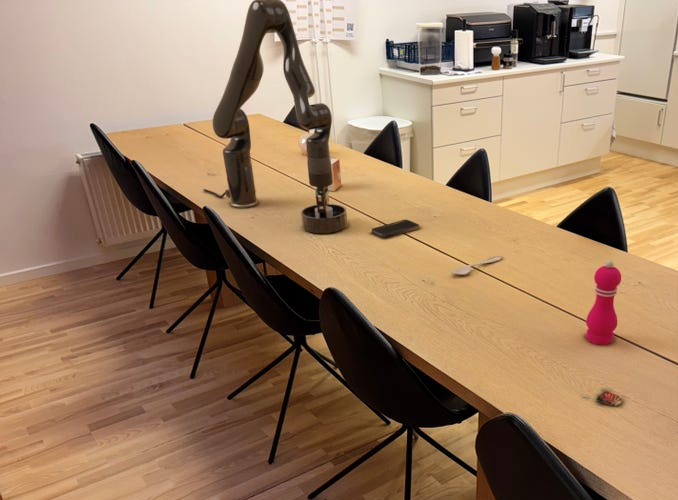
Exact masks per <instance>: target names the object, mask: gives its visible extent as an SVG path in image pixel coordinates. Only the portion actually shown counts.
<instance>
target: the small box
mask: <svg viewBox="0 0 678 500" xmlns="http://www.w3.org/2000/svg"><path fill="white" fill-rule="evenodd" d="M330 160H331V168H332V179H333V183H332V185H330V186H328V190H329V192H336V190H338V188H340V187H342V175H341V164H340V163H341V162H340V159H339V158H330Z"/></svg>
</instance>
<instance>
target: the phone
mask: <svg viewBox="0 0 678 500" xmlns="http://www.w3.org/2000/svg"><path fill="white" fill-rule="evenodd" d="M418 229H420V224H419V223H416V222H414V221H412V220H409V219H402V220H398V221H394V222H391V223H386V224H384V225H380V226H377V227H372V228H371V234H373V235H375V236H377V237H379V238H382V239H389V238H392V237H395V236H399V235H402V234H406V233H409V232H412V231H416V230H418Z"/></svg>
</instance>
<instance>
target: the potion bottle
mask: <svg viewBox="0 0 678 500" xmlns="http://www.w3.org/2000/svg"><path fill="white" fill-rule="evenodd" d="M312 134H313V133H307V132H306V133H305V134H302V135H301V136H300V137H299V139H298V148H299V150H300V152H301V153H302V154H304V155H306V156H307V147H306V140H307V138H308V137H310V136H311V135H312Z"/></svg>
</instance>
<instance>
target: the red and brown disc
mask: <svg viewBox="0 0 678 500" xmlns="http://www.w3.org/2000/svg"><path fill="white" fill-rule="evenodd" d="M621 398H622V396H621V395H619V394H617V393H614V391H610V390H608V389H604V390H603V391H602V392H601V393H600V394H599V395H597V398H596V401H598V402H599V403H601V404H602V403H603V404H604V405H608V406H616V407H617V406H619V405H621V402H622V400H620V399H621Z"/></svg>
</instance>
